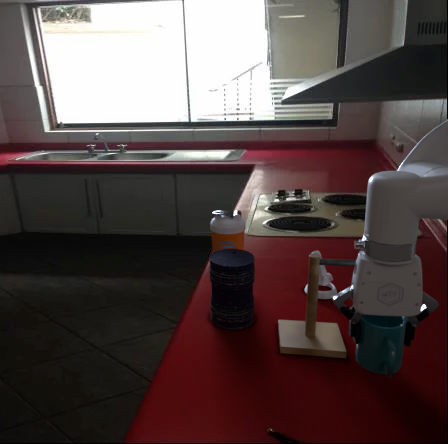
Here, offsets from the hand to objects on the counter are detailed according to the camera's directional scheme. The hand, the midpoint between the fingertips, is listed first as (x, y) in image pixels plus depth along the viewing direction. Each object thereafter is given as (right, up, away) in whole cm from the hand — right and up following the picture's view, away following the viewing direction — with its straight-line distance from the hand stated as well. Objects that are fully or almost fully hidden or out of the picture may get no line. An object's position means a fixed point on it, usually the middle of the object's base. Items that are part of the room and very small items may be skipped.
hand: (380, 340), depth 73 cm
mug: (0, -5, 0) cm, 5 cm away
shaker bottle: (-21, +4, +38) cm, 43 cm away
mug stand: (-5, -3, +11) cm, 12 cm away
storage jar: (-22, -1, +22) cm, 31 cm away
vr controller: (+1, +3, +31) cm, 31 cm away
